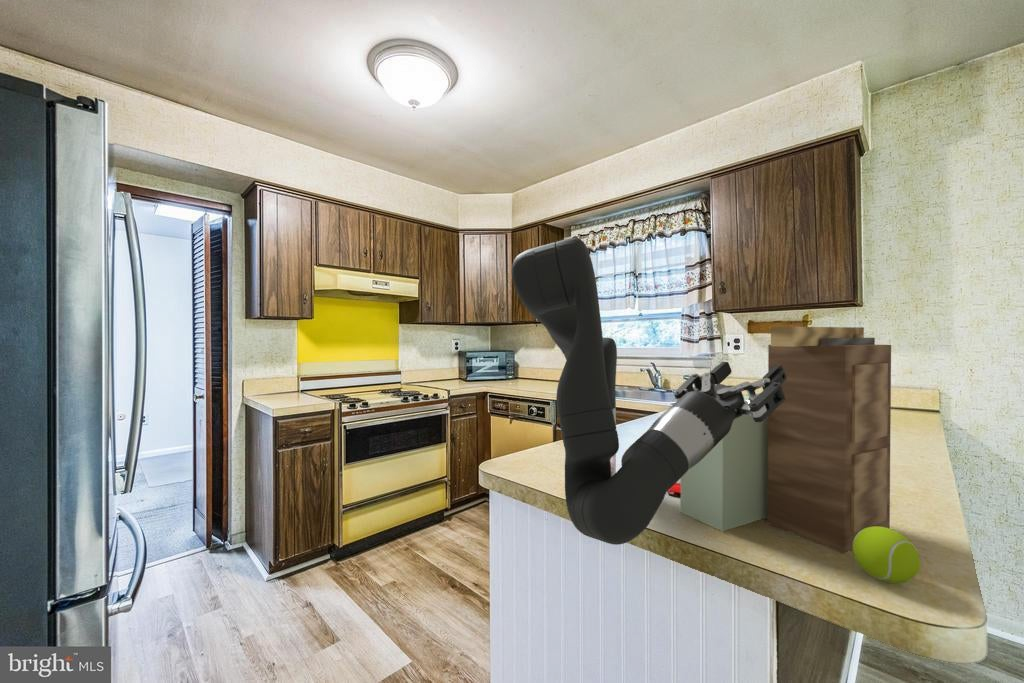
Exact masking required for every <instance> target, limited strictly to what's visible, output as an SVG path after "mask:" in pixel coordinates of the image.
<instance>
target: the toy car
mask: <svg viewBox="0 0 1024 683" xmlns="http://www.w3.org/2000/svg"><path fill="white" fill-rule="evenodd" d="M666 494H667V495H668V494H669V495H668V496H670V495H671V497H676V496H678V497H677V498H681V478H680V479H679V480H678V481H677V482H676V483H675V484H674V485H673V486H672V487H671V488H670V489H669V490H668V491H667V492H666Z"/></svg>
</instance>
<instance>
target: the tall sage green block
mask: <svg viewBox="0 0 1024 683" xmlns="http://www.w3.org/2000/svg"><path fill="white" fill-rule="evenodd" d="M743 397H744V402H745V401H747V400H748V399H749V396H748V394H747V395H746V394H743ZM681 512H682V514H684V515H686V516H687V517H690V518H693V519H694V518H695V520H697V521H700V522H701V523H703V524H706V525H708V526H709V527H712V528H714V529H716V530H719V531H721V532H725V531H729V530H732V529H734V528H738V527H741V526H744V525H748V524H752V523H754V522H758V521H760V520H764V519H768V417H766V418H765V419H764V420H763V421H762V422H755V421H754V419H753V417H752V416H750V415H745V414H743V415H742V416H740V417H738V418H736V419H734V421H733V423H732V426H731V429H730V431H729V433H728V434H727V435H726V436H725V437H724V438H723V439H722V440H721V441H720V442H719V443H718V444H717V445H716V446H715V447H714V448H713V449H712V450H711V451H710V452H709V453H708V454H707V455H706V456H705V457H704V458H703V459H702V460H701V461H700V462H699V463H698V464H696V465H695V466H693V467H692V468H691V469H689V470H688V471H687V472H686V473H685V474H684V475H683V476H682V477H681V497H680V513H681ZM757 520H758V521H757ZM747 523H748V524H747Z"/></svg>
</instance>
